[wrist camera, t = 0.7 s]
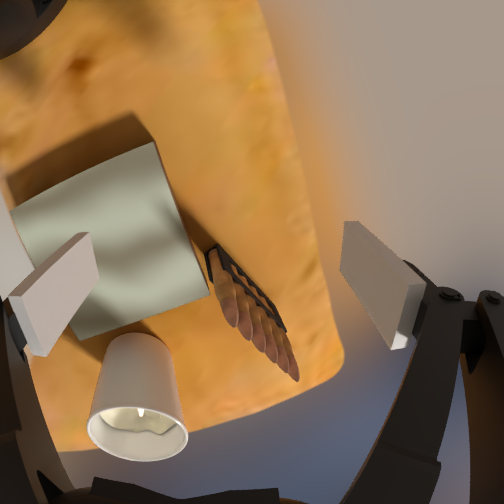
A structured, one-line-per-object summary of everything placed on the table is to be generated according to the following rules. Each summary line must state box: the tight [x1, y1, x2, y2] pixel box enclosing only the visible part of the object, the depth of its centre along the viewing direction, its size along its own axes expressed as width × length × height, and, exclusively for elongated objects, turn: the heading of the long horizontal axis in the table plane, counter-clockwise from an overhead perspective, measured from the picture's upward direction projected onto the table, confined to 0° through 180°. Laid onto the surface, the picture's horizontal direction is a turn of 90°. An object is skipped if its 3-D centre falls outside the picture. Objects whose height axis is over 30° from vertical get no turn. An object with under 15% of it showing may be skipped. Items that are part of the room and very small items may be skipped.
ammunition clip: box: [204, 244, 299, 382], centre depth 28 cm, size 11×2×12 cm, turn 37°
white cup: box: [87, 332, 188, 461], centre depth 29 cm, size 10×10×12 cm
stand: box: [10, 141, 210, 341], centre depth 27 cm, size 15×15×3 cm
